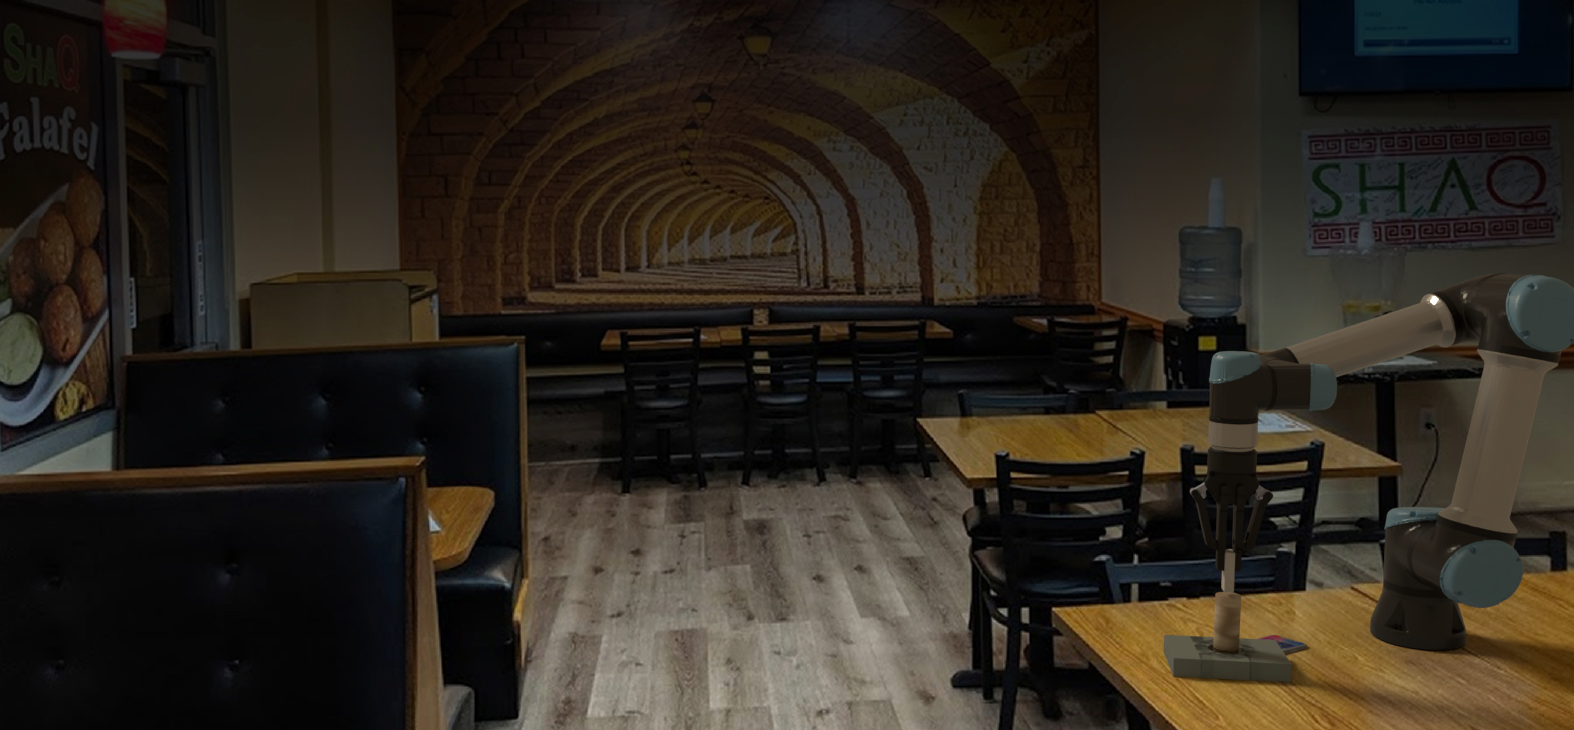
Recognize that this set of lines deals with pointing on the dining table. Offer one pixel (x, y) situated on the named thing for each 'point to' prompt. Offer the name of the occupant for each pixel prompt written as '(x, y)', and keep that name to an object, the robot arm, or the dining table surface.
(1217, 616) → the peg
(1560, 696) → the dining table surface
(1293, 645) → the smartphone
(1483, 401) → the robot arm
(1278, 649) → the board
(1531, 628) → the dining table surface
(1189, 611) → the dining table surface
